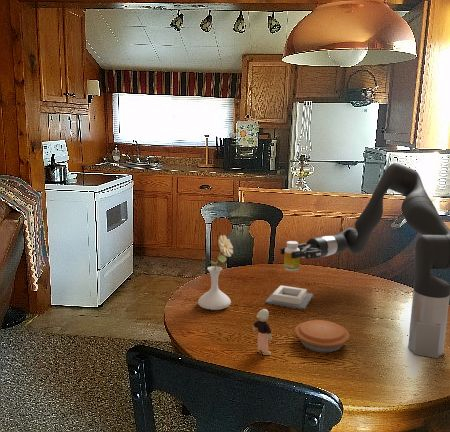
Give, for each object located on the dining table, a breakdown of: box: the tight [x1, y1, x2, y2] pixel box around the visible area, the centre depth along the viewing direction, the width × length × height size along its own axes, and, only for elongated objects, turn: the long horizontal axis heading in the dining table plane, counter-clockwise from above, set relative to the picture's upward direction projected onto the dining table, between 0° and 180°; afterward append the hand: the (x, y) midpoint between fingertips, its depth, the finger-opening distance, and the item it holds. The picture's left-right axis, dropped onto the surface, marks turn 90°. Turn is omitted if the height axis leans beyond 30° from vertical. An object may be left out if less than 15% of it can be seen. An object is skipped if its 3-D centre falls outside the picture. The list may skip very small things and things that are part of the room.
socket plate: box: [264, 284, 314, 311], centre depth 167 cm, size 14×14×3 cm
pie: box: [294, 319, 350, 353], centre depth 134 cm, size 15×16×5 cm
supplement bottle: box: [283, 240, 301, 272], centre depth 164 cm, size 5×5×10 cm
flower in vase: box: [197, 234, 234, 311], centre depth 158 cm, size 13×11×25 cm
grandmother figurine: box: [252, 308, 273, 356], centre depth 127 cm, size 8×4×13 cm, turn 47°
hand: (286, 253), depth 162 cm, fingers closed on supplement bottle, 5 cm apart
